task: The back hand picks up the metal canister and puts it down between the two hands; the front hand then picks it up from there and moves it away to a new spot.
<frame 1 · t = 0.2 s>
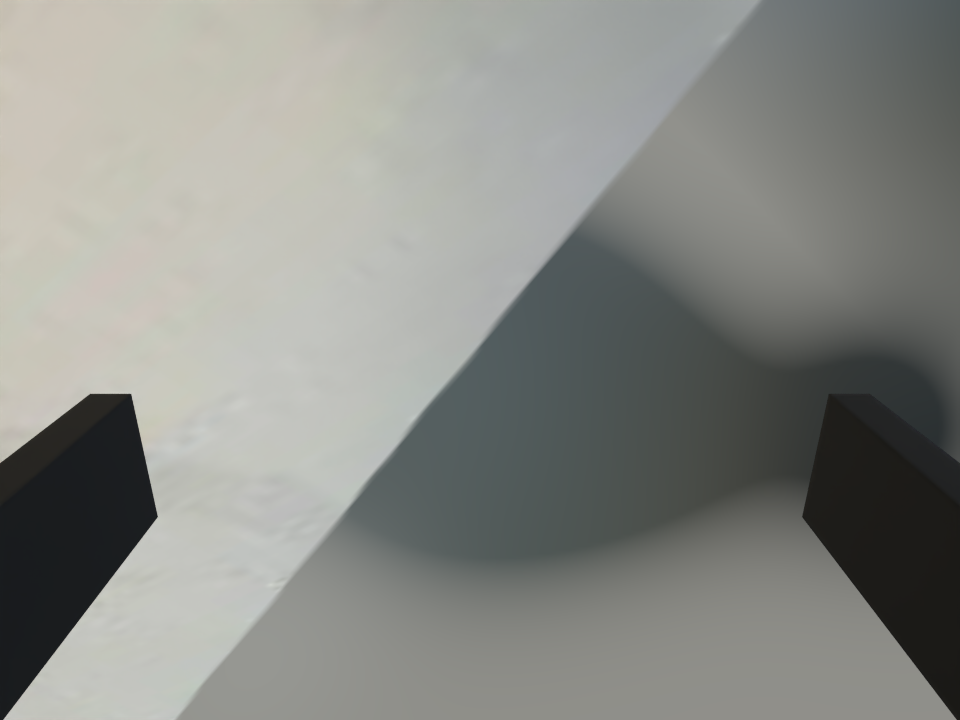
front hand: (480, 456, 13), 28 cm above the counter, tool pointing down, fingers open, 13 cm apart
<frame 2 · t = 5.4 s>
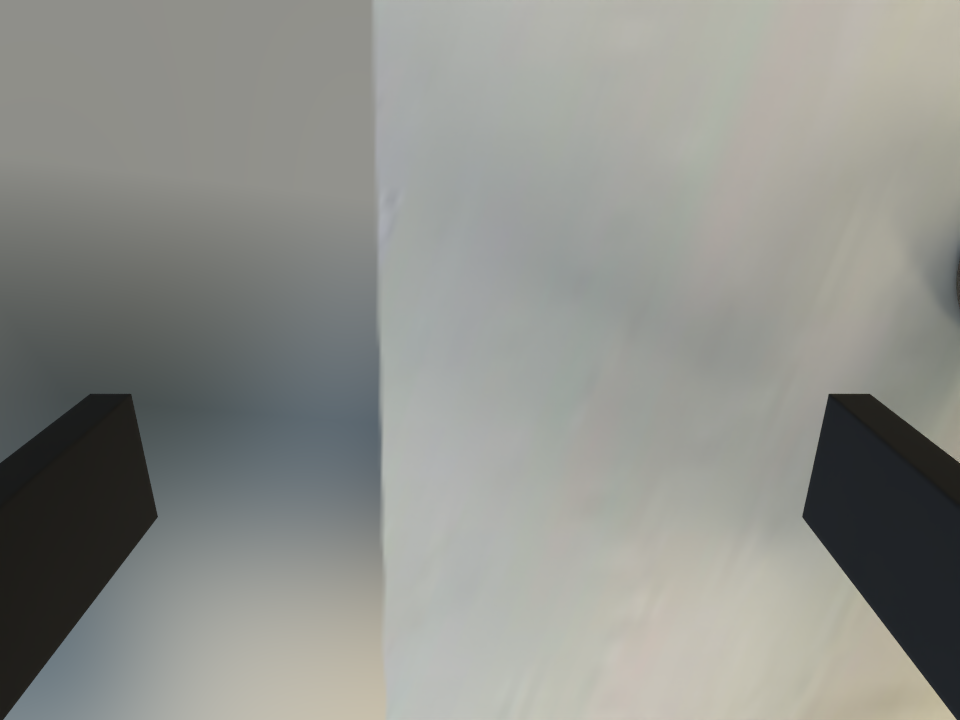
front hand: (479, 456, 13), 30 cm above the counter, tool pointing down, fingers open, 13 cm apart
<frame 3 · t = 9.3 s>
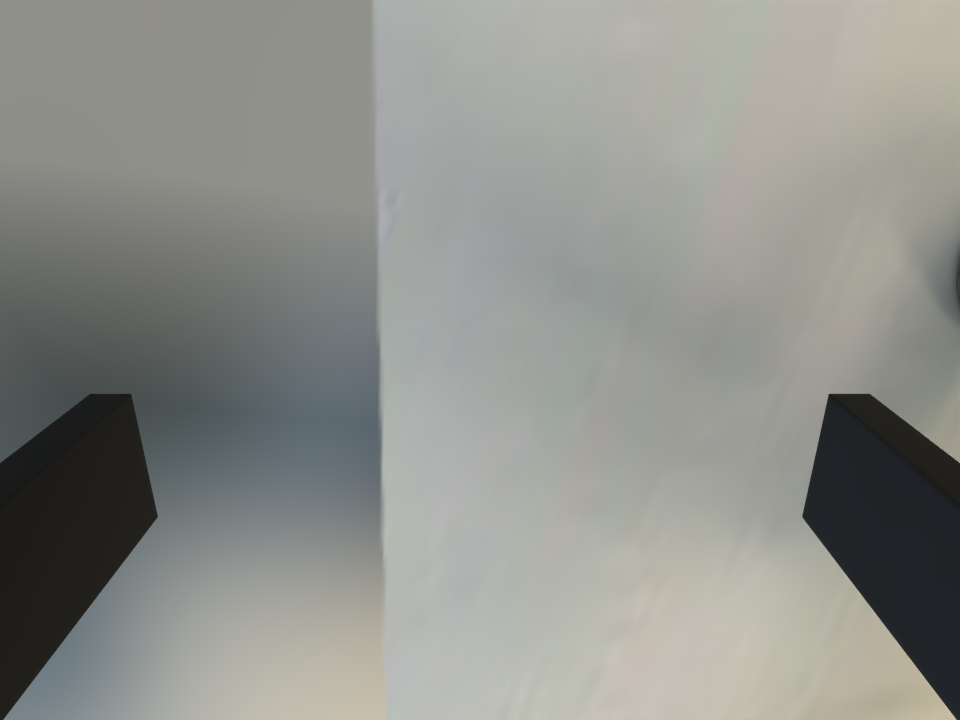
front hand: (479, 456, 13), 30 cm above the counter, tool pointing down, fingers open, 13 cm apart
when the back hand's fingers open (3 cm above the counter, at t = 13.4 s): canister drops 1 cm, on the counter.
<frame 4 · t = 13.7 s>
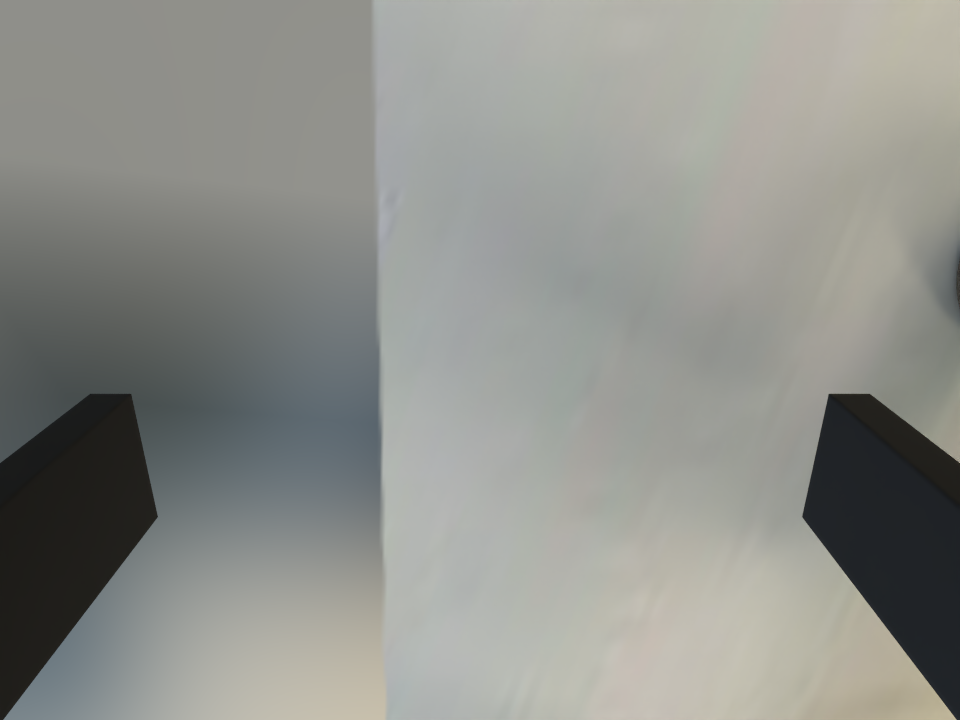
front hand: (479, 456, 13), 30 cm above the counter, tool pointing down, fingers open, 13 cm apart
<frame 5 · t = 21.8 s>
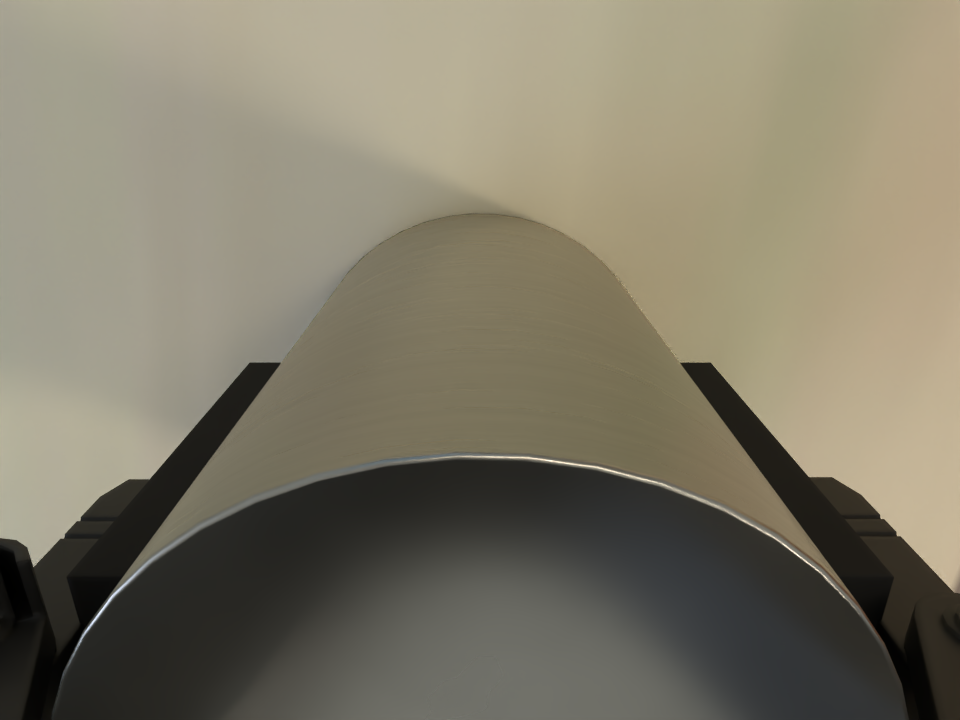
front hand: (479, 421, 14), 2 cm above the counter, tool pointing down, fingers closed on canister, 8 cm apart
canister: (480, 381, 16), on the counter, touching front hand
when the front hand's fingers open (3 cm above the counter, at t = 28.9 s): canister drops 1 cm, on the counter.
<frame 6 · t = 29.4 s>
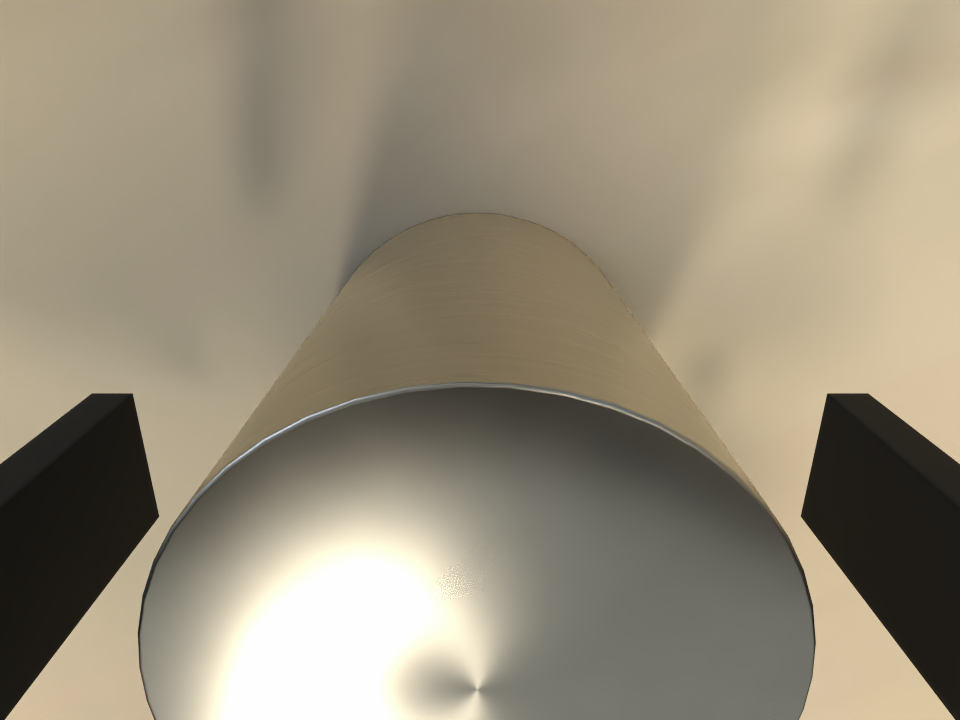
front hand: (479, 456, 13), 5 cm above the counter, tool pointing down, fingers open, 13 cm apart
canister: (477, 365, 18), on the counter
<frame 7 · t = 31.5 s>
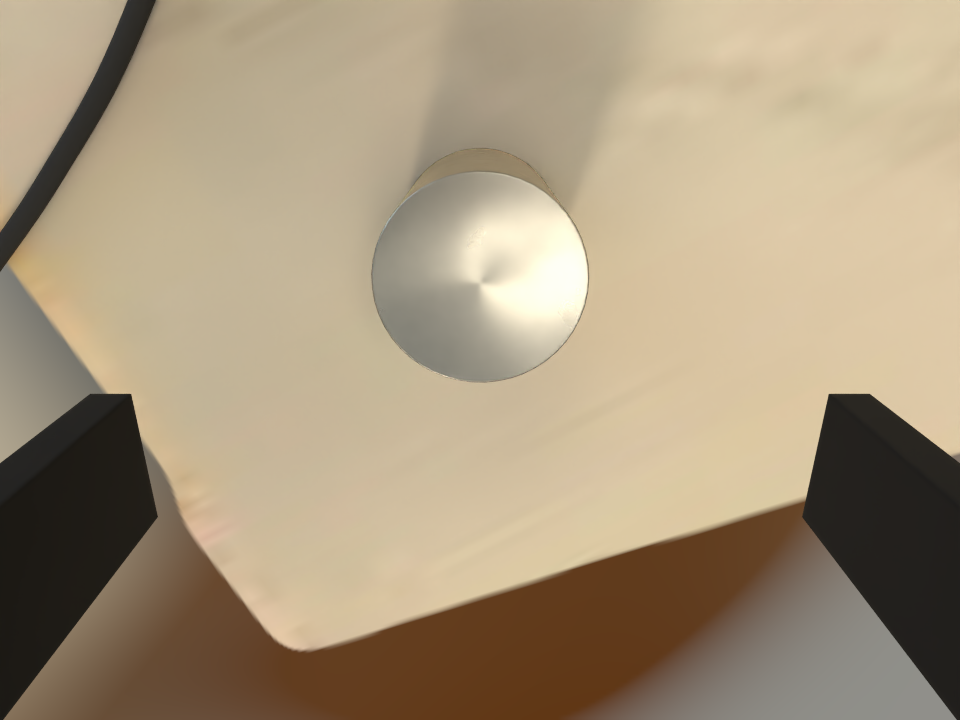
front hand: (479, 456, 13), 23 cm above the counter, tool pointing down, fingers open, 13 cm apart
canister: (480, 229, 34), on the counter
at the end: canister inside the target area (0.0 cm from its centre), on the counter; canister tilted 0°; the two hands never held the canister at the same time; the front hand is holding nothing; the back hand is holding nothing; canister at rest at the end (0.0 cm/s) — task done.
